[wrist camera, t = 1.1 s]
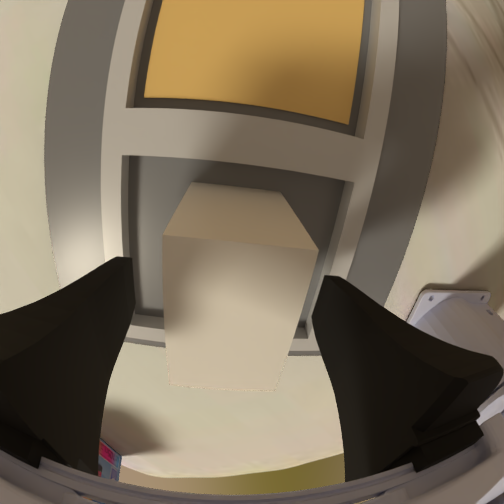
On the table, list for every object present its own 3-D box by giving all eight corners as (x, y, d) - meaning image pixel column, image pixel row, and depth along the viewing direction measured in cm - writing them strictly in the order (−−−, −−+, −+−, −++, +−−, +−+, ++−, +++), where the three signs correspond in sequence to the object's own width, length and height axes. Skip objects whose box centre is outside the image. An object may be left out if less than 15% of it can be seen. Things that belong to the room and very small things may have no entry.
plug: (280, 192, 13) (319, 250, 7) (258, 309, 15) (272, 399, 10) (191, 182, 12) (162, 234, 7) (185, 303, 15) (170, 393, 10)
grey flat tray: (440, -4, 8) (455, -9, 6) (358, 349, 19) (365, 363, 17) (98, -60, 5) (88, -70, 4) (74, 326, 16) (66, 341, 15)
